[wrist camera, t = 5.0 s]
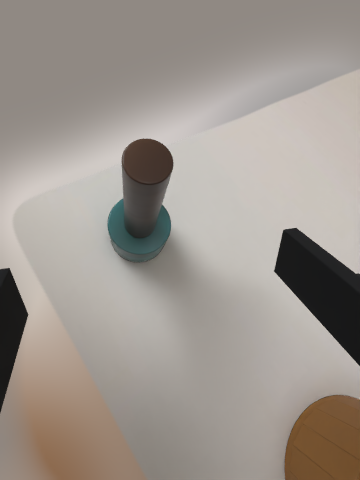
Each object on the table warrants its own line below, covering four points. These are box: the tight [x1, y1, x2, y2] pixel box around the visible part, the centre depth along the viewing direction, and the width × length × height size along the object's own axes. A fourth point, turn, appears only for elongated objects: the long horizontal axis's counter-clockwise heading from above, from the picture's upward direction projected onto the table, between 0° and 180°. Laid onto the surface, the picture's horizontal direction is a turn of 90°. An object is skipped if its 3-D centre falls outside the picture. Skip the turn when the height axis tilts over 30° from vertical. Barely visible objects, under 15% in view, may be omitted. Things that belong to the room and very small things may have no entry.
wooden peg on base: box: [108, 139, 173, 262], centre depth 19 cm, size 5×5×13 cm
